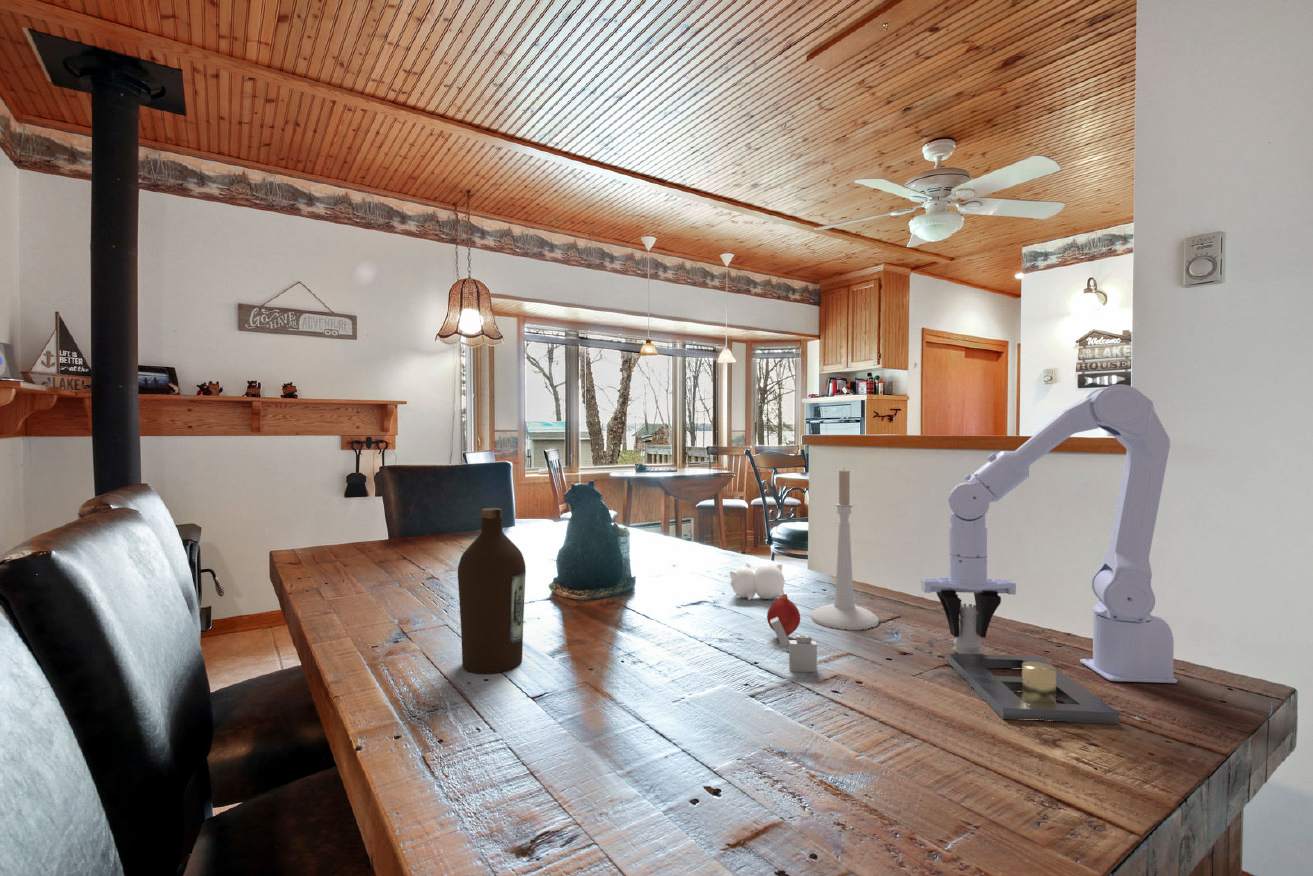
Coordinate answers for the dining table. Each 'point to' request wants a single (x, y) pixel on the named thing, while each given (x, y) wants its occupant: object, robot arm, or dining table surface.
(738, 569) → the cat figurine
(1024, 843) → the dining table surface
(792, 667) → the lighter
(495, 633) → the olive oil
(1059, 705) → the bolt plate
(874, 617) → the candlestick
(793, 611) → the onion
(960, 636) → the rook chess piece
